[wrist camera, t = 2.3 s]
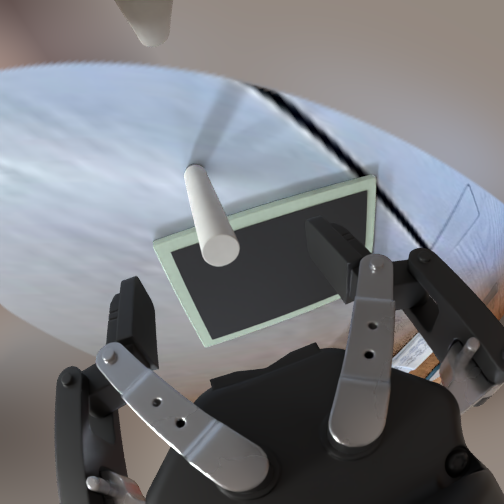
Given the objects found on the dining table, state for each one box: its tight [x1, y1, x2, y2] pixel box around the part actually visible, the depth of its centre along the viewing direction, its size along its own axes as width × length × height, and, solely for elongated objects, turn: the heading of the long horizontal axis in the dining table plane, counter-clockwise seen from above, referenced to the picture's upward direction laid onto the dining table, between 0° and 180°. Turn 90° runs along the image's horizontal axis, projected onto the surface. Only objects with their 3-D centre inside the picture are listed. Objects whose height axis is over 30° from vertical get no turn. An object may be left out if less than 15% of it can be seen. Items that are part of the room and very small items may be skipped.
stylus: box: [184, 164, 240, 266], centre depth 18 cm, size 2×2×12 cm
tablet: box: [153, 175, 376, 347], centre depth 31 cm, size 16×23×1 cm
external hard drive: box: [426, 363, 441, 381], centre depth 85 cm, size 24×12×2 cm, turn 79°
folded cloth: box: [392, 333, 433, 373], centre depth 61 cm, size 19×20×2 cm
